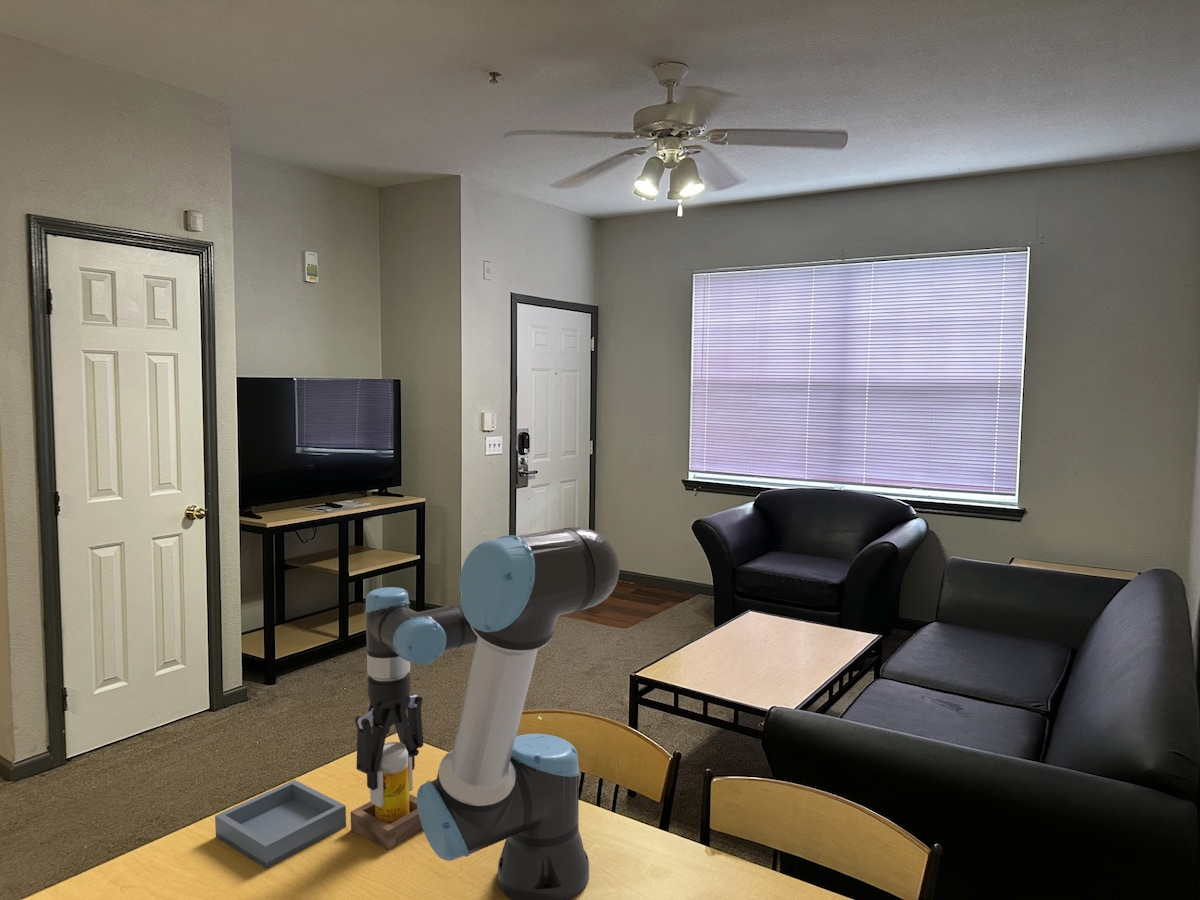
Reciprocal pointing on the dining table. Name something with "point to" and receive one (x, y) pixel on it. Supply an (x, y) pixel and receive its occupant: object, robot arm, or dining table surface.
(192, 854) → the dining table surface
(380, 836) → the collar holder
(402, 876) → the dining table surface
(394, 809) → the beer can
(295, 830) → the tray
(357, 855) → the dining table surface
